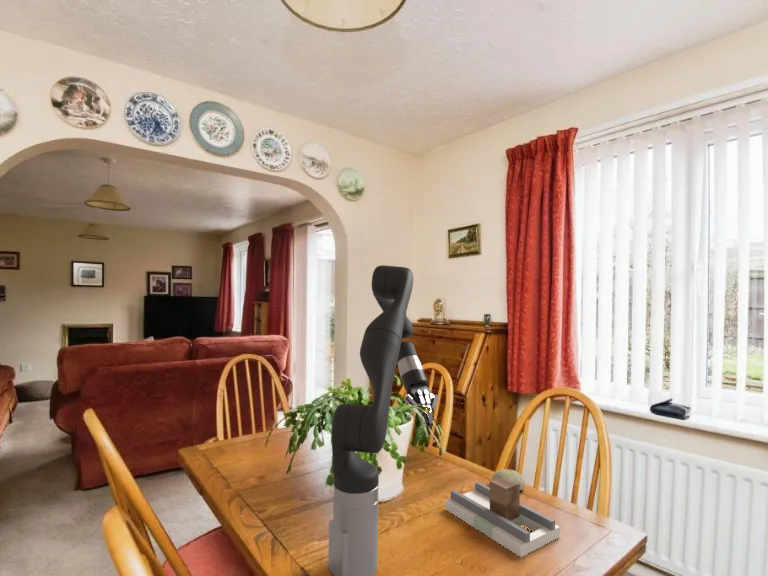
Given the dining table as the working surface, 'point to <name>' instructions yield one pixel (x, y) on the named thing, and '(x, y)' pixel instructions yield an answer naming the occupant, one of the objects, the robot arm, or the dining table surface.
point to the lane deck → (503, 521)
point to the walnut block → (505, 498)
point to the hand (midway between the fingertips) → (430, 426)
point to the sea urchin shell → (510, 476)
